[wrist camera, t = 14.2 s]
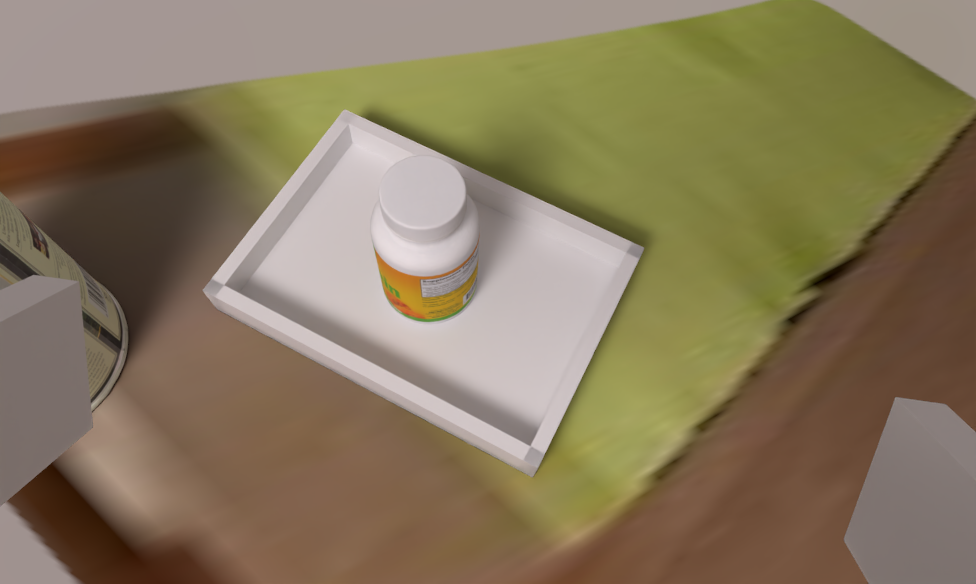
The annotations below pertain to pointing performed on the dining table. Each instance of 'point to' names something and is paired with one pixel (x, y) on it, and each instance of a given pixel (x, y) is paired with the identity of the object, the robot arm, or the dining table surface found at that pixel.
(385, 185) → the supplement bottle
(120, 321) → the coffee can
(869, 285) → the dining table surface
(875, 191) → the dining table surface
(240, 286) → the white tray
